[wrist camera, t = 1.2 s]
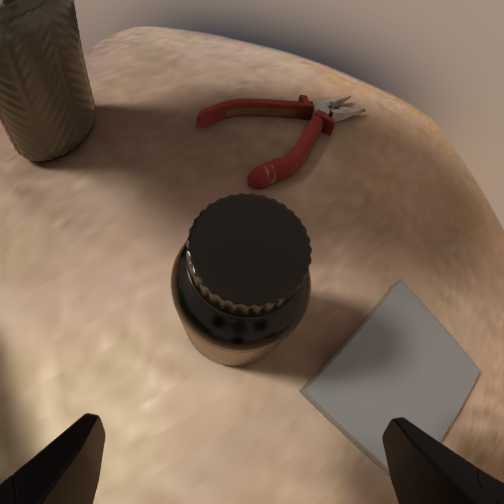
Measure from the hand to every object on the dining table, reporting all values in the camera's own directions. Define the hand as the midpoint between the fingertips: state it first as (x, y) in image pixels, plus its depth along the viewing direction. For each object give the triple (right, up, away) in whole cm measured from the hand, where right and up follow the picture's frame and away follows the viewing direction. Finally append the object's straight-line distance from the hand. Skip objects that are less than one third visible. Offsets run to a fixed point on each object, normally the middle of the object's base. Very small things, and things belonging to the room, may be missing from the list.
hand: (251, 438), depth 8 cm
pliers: (+5, +17, +25) cm, 31 cm away
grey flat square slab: (+12, -5, +13) cm, 19 cm away
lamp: (-22, +19, +21) cm, 35 cm away
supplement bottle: (-1, 0, +15) cm, 15 cm away
